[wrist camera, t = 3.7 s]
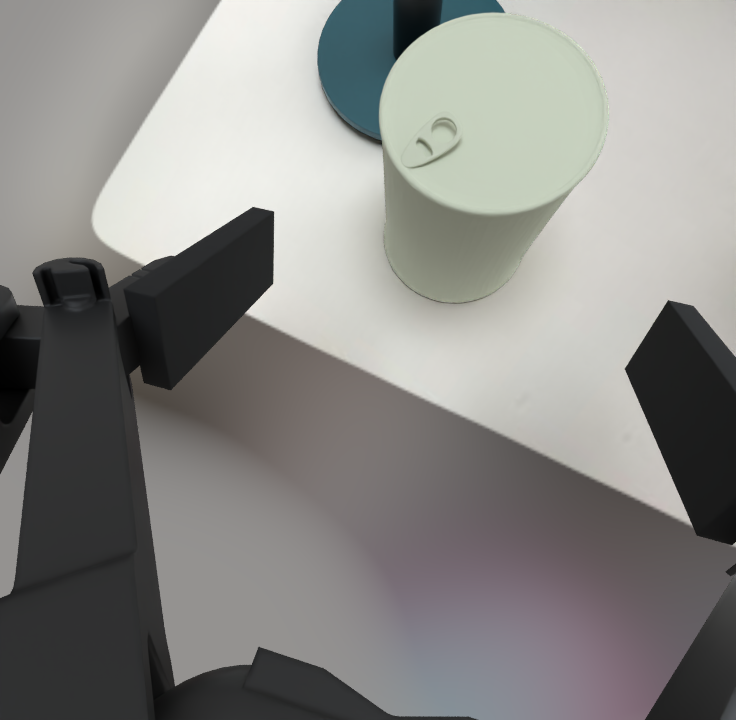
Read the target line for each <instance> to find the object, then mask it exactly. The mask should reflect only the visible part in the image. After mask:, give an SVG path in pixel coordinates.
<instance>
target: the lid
mask: <svg viewBox="0 0 736 720" xmlns="http://www.w3.org/2000/svg"><path fill="white" fill-rule="evenodd" d="M481 13H505V12H504V10H503V8H502V7H501V6H500V4H499V3H498V2H497V1H496V0H341V2H340V3H339V4H338V5H337V6H336V8H335V9H334V10H333V12H332V13H331V15H330V16H329V18H328V19H327V22H326V24H325V26H324V28H323V30H322V34H321V37H320V40H319V46H318V70H319V76H320V80H321V84H322V87H323V90H324V92H325V94H326V96H327V98H328V100H329V102H330V103H331V105H332V106H333V108H334V109H335V110H336V112H337V113H338V114H339V115H340V116H341V117H342V118H343V119H344V120H345V121H346V122H348V123H349V124H350V125H351V126H352V127H354V128H356V129H357V130H359V131H360V132H362V133H364V134H366V135H368V136H370V137H373V138H375V139H378V140H382V138H381V133H380V127H379V104H380V98H381V94H382V90H383V87H384V84H385V81H386V79H387V77H388V75H389V72H390V70H391V69H392V67H393V65H394V64H395V62H396V61H397V60H398V58H399V57H400V56H401V54H402V53H403V52H404V51H405V50H406V49H407V48H408V47H409V46H410V45H411V44H412V43H413V42H414V41H415V40H417V39H418V38H419V37H420V36H422V35H423V34H425V33H426V32H428V31H429V30H431V29H433V28H435V27H437V26H439V25H441V24H443V23H445V22H448V21H450V20H453V19H456V18H460V17H463V16H467V15H472V14H481Z"/></svg>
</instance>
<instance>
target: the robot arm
mask: <svg viewBox="0 0 736 720" xmlns="http://www.w3.org/2000/svg"><path fill="white" fill-rule="evenodd" d="M273 259H274V212H273V211H269V210H265V209H260V208H256V207H252V208H251V209H249V210H248V211H246V212H244V213H243V214H241V215H240V216H238V217H236V218H235V219H233V220H232V221H230V222H229V223H227V224H225V225H224V226H222V227H221V228H219V229H217V230H216V231H214V232H213V233H211V234H210V235H208V236H206V237H205V238H203V239H202V240H200V241H198V242H197V243H195V244H194V245H192V246H191V247H189V248H187V249H186V250H184V251H183V252H181V253H179V254H178V255H176V256H168V257H165V258H161V259H158V260H154V261H152V262H151V263H149V264H148V265H146V266H144V267H143V268H142V270H138V271H136V272H134V273H133V274H132V276H128V277H126V278H124V279H123V280H121V281H119V282H118V283H116V284H114V285H113V286H111V287H110V288H108V284H107V280H106V275H105V271H104V268H103V266H102V265H101V263H99V262H97V261H95V260H91V259H86V258H63V259H56V260H52V261H49V262H45V263H43V264H42V265H40V266H38V267H36V268H35V270H34V271H33V276H34V279H35V282H36V285H37V288H38V291H39V293H40V296H41V299H42V302H43V305H44V307H41V306H23V305H17V304H16V302H15V299H14V297H13V295H12V292H11V291H10V290H9V288H7V287H4V286H2V285H0V474H1V472H2V470H3V468H4V466H5V464H6V462H7V460H8V458H9V456H10V454H11V452H12V450H13V448H14V446H15V444H16V442H17V441H18V439H19V437H20V435H21V433H22V431H23V429H24V427H25V425H26V423H27V421H28V419H29V417H30V415H31V413H32V411H33V415H32V425H31V434H30V444H29V453H28V462H27V472H26V481H25V491H24V500H23V509H22V519H21V528H20V537H19V547H18V558H17V566H16V575H15V582H14V587H13V589H12V591H11V593H10V594H9V595H7V596H4V597H2V598H0V720H476V719H474V718H471V717H399V716H393V715H390V714H388V713H386V712H384V711H383V710H382V709H380V708H379V707H377V706H376V705H374V704H373V703H372V702H370V701H369V700H368V699H366V698H365V697H363V696H362V695H360V694H359V693H358V692H356V691H355V690H354V689H352V688H351V687H349V686H348V685H346V684H345V683H344V682H342V681H341V680H339V679H338V678H337V677H335V676H334V675H332V674H331V673H329V672H328V671H327V670H325V669H324V668H320V667H318V666H315V665H311V664H309V663H305V662H303V661H299V660H297V659H293V658H290V657H287V656H284V655H281V654H278V653H275V652H272V651H269V650H266V649H263V648H260V647H258V650H257V653H256V655H255V658H254V660H253V663H252V665H237V666H230V667H223V668H219V669H216V670H212V671H209V672H205V673H202V674H200V675H198V676H195V677H193V678H191V679H188V680H186V681H184V682H182V683H181V684H179V685H177V686H175V684H174V678H173V671H172V665H171V660H170V655H169V650H168V646H167V640H166V635H165V628H164V622H163V614H162V607H161V599H160V591H159V584H158V576H157V570H156V561H155V554H154V547H153V539H152V531H151V524H150V516H149V509H148V502H147V494H146V486H145V479H144V471H143V464H142V456H141V449H140V441H139V434H138V427H137V419H136V412H135V405H134V397H133V389H132V383H131V379H130V375H129V374H130V373H131V372H132V371H134V370H135V369H136V368H137V367H138V366H139V365H140V367H141V372H142V377H143V381H144V383H146V384H150V385H154V386H157V387H161V388H165V389H168V390H172V388H173V387H174V386H175V385H176V384H177V383H178V382H179V381H180V380H181V379H182V378H183V377H184V376H185V375H186V374H187V373H188V372H189V371H190V370H191V369H192V368H193V366H195V365H196V363H197V362H198V361H199V360H200V359H201V358H202V357H203V356H204V355H205V354H206V353H207V352H208V351H209V350H210V349H211V348H212V347H213V346H214V345H215V344H216V343H217V342H218V340H220V338H221V337H222V336H223V335H224V334H225V333H226V332H227V331H228V330H229V329H230V328H231V327H232V326H233V325H234V324H235V323H236V322H237V321H238V319H240V318H241V317H242V316H243V314H244V313H245V312H246V311H247V310H248V309H249V308H250V307H251V306H252V305H253V304H254V303H255V302H256V301H257V300H258V299H259V298H260V297H261V296H262V295H263V294H264V293H265V292H266V291H267V289H268V288H269V287H270V286H271V285H272V284H273ZM625 370H626V373H627V375H628V377H629V380H630V382H631V384H632V387H633V389H634V391H635V394H636V396H637V398H638V401H639V403H640V405H641V407H642V410H643V412H644V414H645V417H646V419H647V421H648V424H649V426H650V428H651V431H652V433H653V435H654V438H655V440H656V442H657V444H658V447H659V449H660V451H661V454H662V456H663V458H664V461H665V463H666V465H667V468H668V470H669V472H670V474H671V477H672V479H673V481H674V484H675V486H676V488H677V491H678V493H679V495H680V498H681V500H682V502H683V505H684V507H685V509H686V511H687V514H688V516H689V518H690V521H691V523H692V525H693V528H694V530H695V532H696V534H697V536H701V537H705V538H708V539H712V540H715V541H719V542H722V543H726V544H730V545H733V544H734V543H735V542H736V357H735V356H734V355H733V354H732V352H731V351H730V350H729V349H728V348H727V346H726V345H725V344H724V343H723V341H722V340H721V339H720V338H719V337H718V335H717V334H716V333H715V332H714V330H713V329H712V328H711V327H710V326H709V324H708V323H707V322H706V321H705V319H704V318H703V317H702V316H701V315H700V313H699V312H698V311H697V310H696V308H695V307H694V306H691V305H687V304H682V303H678V302H673V301H669V300H668V301H667V303H666V305H665V306H664V308H663V309H662V311H661V313H660V314H659V316H658V317H657V319H656V320H655V322H654V324H653V325H652V327H651V328H650V330H649V331H648V333H647V335H646V336H645V338H644V339H643V341H642V343H641V344H640V346H639V347H638V349H637V350H636V352H635V354H634V355H633V357H632V358H631V360H630V361H629V363H628V365H627V366H626V368H625ZM726 573H727V574H729V575H730V576H732V575H733V574H735V573H736V564H735V565H733V566H732V567H731V568H730V569H728V570H727V571H726ZM645 720H736V574H735V575H734V577H733V578H732V580H731V582H730V584H729V585H728V587H727V588H726V590H725V591H724V593H723V595H722V596H721V598H720V599H719V601H718V603H717V604H716V606H715V608H714V609H713V611H712V612H711V614H710V616H709V617H708V619H707V620H706V622H705V624H704V625H703V627H702V629H701V630H700V632H699V633H698V635H697V637H696V638H695V640H694V642H693V643H692V645H691V646H690V648H689V650H688V651H687V653H686V654H685V656H684V658H683V659H682V661H681V662H680V664H679V666H678V667H677V669H676V670H675V672H674V674H673V675H672V677H671V679H670V680H669V682H668V683H667V685H666V687H665V688H664V690H663V691H662V693H661V695H660V696H659V698H658V700H657V701H656V703H655V705H654V706H653V708H652V709H651V711H650V712H649V714H648V716H647V717H646V719H645Z"/></svg>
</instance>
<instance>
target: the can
mask: <svg viewBox="0 0 736 720" xmlns="http://www.w3.org/2000/svg"><path fill="white" fill-rule="evenodd" d="M608 121H609V107H608V98H607V94H606V89H605V86H604V83H603V80H602V78H601V76H600V74H599V72H598V70H597V68H596V66H595V64H594V63H593V61H592V60H591V59H590V57H589V56H588V55H587V53H586V52H585V51H584V50H583V49H582V48H581V47H580V46H579V45H578V44H577V43H576V42H575V41H574V40H572V39H571V38H570V37H568V36H567V35H565V34H564V33H563V32H561V31H560V30H558V29H556V28H554V27H552V26H551V25H549V24H546V23H544V22H541V21H539V20H536V19H533V18H529V17H526V16H522V15H516V14H510V13H481V14H472V15H467V16H463V17H460V18H456V19H453V20H450V21H448V22H445V23H443V24H441V25H439V26H437V27H435V28H433V29H431V30H429V31H428V32H426V33H425V34H423V35H422V36H420V37H419V38H418V39H417V40H415V41H414V42H413V43H412V44H411V45H410V46H409V47H408V48H407V49H406V50H405V51H404V52H403V53H402V54H401V56H400V57H399V58H398V60H397V61H396V62H395V64H394V65H393V67H392V69H391V70H390V72H389V75H388V77H387V79H386V81H385V84H384V87H383V90H382V94H381V98H380V104H379V127H380V133H381V138H382V148H383V163H384V184H385V207H386V222H385V227H384V246H385V251H386V254H387V257H388V260H389V262H390V265H391V267H392V268H393V270H394V272H395V273H396V274H397V276H398V277H399V278H400V279H401V280H402V281H403V282H404V283H405V284H406V285H407V286H408V287H409V288H411V289H412V290H413V291H415V292H417V293H418V294H420V295H422V296H424V297H427V298H429V299H432V300H436V301H440V302H447V303H463V302H469V301H474V300H477V299H480V298H483V297H485V296H488V295H489V294H491V293H493V292H495V291H496V290H498V289H499V288H500V287H502V286H503V285H504V284H505V283H506V282H507V281H508V280H509V279H510V278H511V276H512V275H513V274H514V272H515V271H516V269H517V268H518V266H519V264H520V261H521V259H522V257H523V255H524V254H525V253H526V251H527V250H528V248H529V247H530V246H531V244H532V243H533V242H534V240H535V239H536V237H537V236H538V235H539V233H540V232H541V231H542V229H543V228H544V227H545V225H546V224H547V223H548V221H549V220H550V218H551V217H552V216H553V214H554V213H555V212H556V211H557V209H558V208H559V207H560V205H561V204H562V203H563V201H564V200H565V199H566V197H567V196H568V195H569V194H570V192H571V191H572V190H573V189H574V187H576V186H577V184H578V183H579V182H580V181H581V180H582V179H583V178H584V177H585V176H586V175H587V174H588V172H589V171H590V170H591V168H592V167H593V165H594V164H595V162H596V160H597V158H598V156H599V154H600V152H601V150H602V147H603V145H604V142H605V138H606V135H607V130H608Z"/></svg>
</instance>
